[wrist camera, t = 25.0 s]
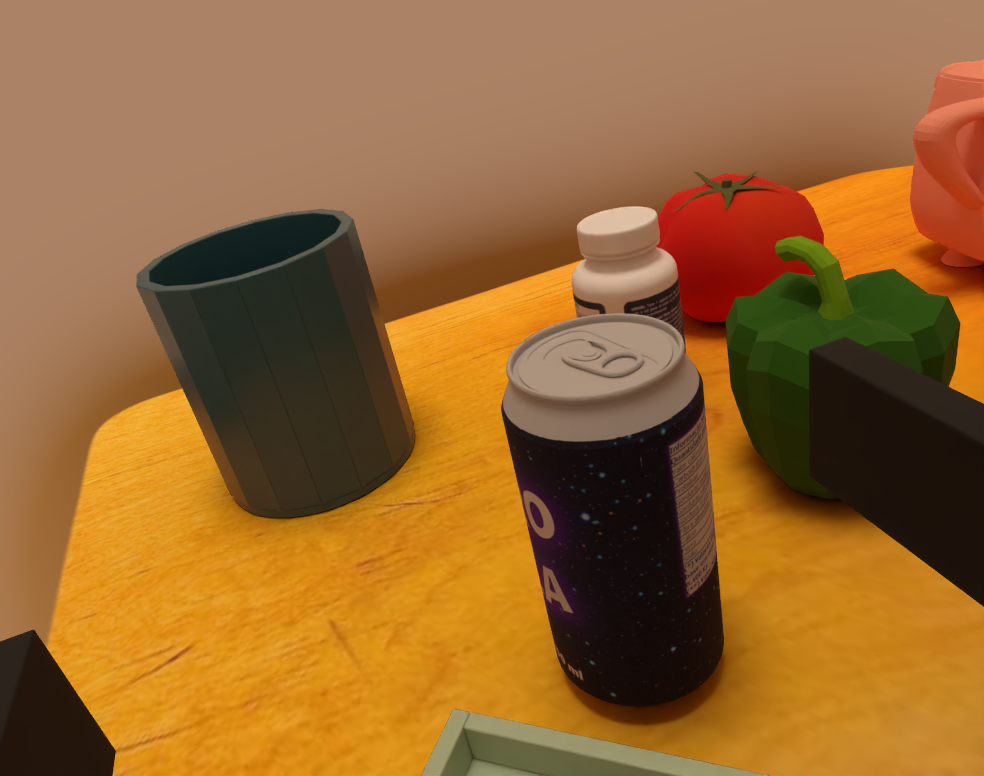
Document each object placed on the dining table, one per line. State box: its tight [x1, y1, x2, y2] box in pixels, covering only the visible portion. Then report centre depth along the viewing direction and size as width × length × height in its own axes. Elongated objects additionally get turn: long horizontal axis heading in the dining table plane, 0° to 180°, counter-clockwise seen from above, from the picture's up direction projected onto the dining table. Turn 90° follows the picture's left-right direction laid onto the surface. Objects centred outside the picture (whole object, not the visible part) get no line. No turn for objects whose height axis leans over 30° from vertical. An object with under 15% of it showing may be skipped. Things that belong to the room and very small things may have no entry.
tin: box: [137, 209, 415, 518], centre depth 40 cm, size 10×10×12 cm
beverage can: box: [501, 313, 724, 706], centre depth 24 cm, size 6×6×12 cm
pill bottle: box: [572, 207, 686, 353], centre depth 40 cm, size 5×5×10 cm
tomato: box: [656, 172, 824, 322], centre depth 47 cm, size 9×10×8 cm
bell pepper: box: [726, 236, 960, 500], centre depth 31 cm, size 8×8×10 cm
